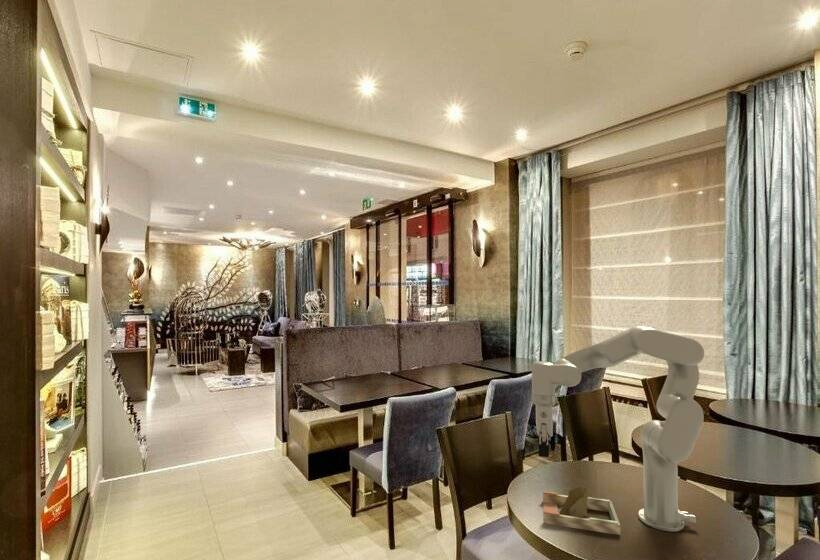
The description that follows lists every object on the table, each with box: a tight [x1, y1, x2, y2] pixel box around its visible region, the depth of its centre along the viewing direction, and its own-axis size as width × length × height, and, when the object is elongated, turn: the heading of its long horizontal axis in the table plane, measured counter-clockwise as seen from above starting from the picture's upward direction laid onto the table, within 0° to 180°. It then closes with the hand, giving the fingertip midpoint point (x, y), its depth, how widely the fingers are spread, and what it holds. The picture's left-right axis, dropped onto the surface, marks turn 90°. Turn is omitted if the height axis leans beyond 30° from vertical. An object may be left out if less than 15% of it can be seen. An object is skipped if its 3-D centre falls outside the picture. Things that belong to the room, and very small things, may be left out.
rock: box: [558, 486, 589, 518], centre depth 139 cm, size 11×9×10 cm
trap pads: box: [542, 490, 559, 516], centre depth 141 cm, size 5×15×4 cm, turn 164°
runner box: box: [542, 493, 621, 536], centre depth 138 cm, size 22×15×4 cm
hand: (543, 452), depth 142 cm, fingers open, 6 cm apart
